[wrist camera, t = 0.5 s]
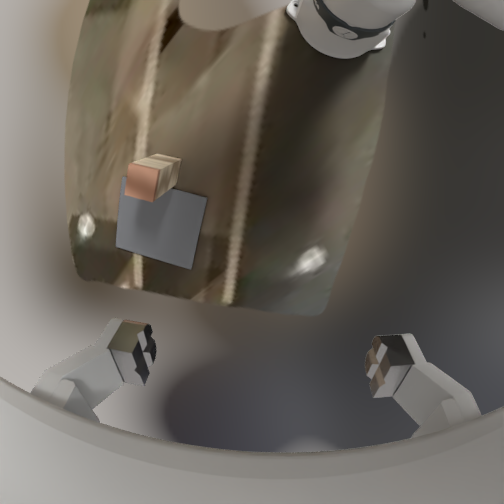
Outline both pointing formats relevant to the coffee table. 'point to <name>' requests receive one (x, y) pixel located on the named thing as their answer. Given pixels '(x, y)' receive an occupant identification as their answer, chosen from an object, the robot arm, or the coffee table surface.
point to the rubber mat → (161, 225)
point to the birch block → (152, 176)
